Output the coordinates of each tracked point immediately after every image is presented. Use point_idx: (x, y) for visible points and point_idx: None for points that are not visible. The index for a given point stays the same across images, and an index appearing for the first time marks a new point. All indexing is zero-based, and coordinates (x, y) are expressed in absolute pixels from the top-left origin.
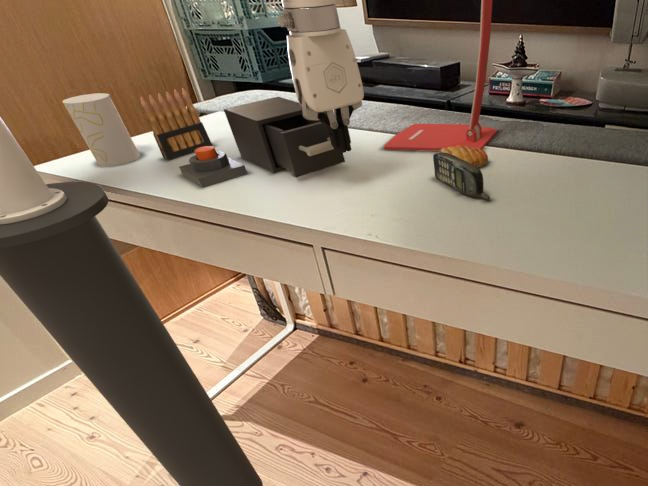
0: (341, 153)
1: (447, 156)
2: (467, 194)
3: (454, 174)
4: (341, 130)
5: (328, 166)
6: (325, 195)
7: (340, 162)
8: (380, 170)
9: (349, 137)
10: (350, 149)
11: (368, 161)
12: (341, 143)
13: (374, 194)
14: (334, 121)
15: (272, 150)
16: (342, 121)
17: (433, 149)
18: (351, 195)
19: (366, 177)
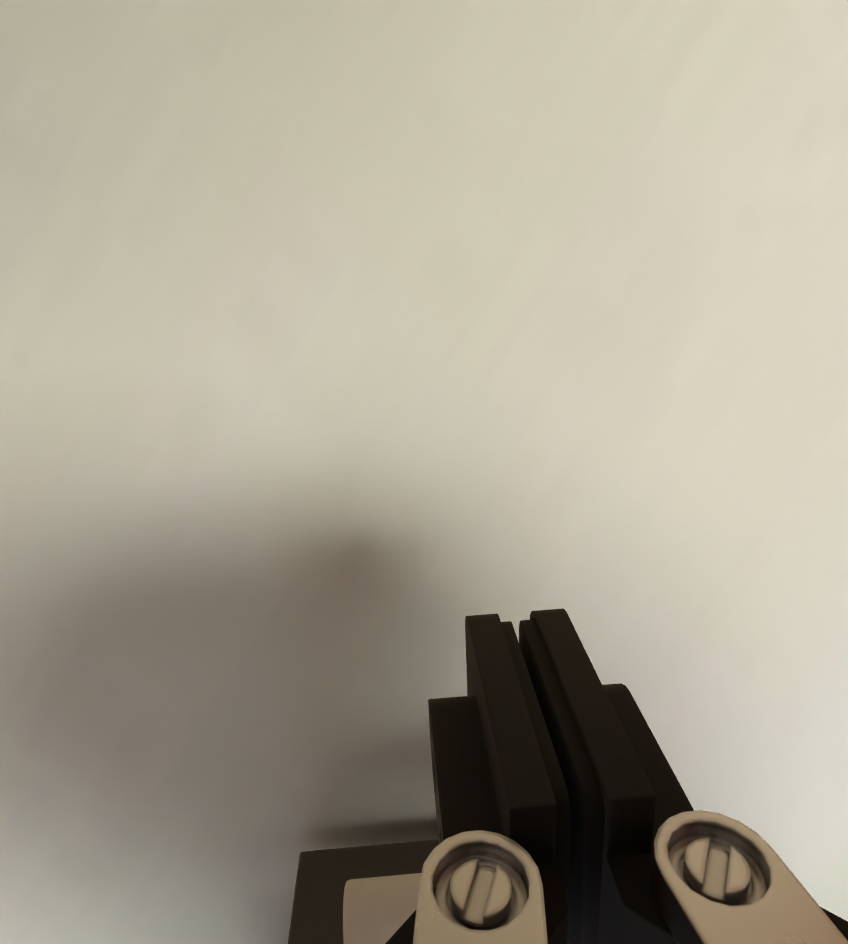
0: (306, 905)
1: None
2: None
3: None
4: (602, 768)
5: (431, 843)
6: (671, 515)
7: (335, 853)
8: (155, 627)
9: (441, 733)
10: (478, 615)
11: (141, 809)
12: (589, 667)
13: (436, 266)
14: (729, 913)
15: None
16: (540, 912)
17: None
18: (561, 384)
19: (301, 587)
